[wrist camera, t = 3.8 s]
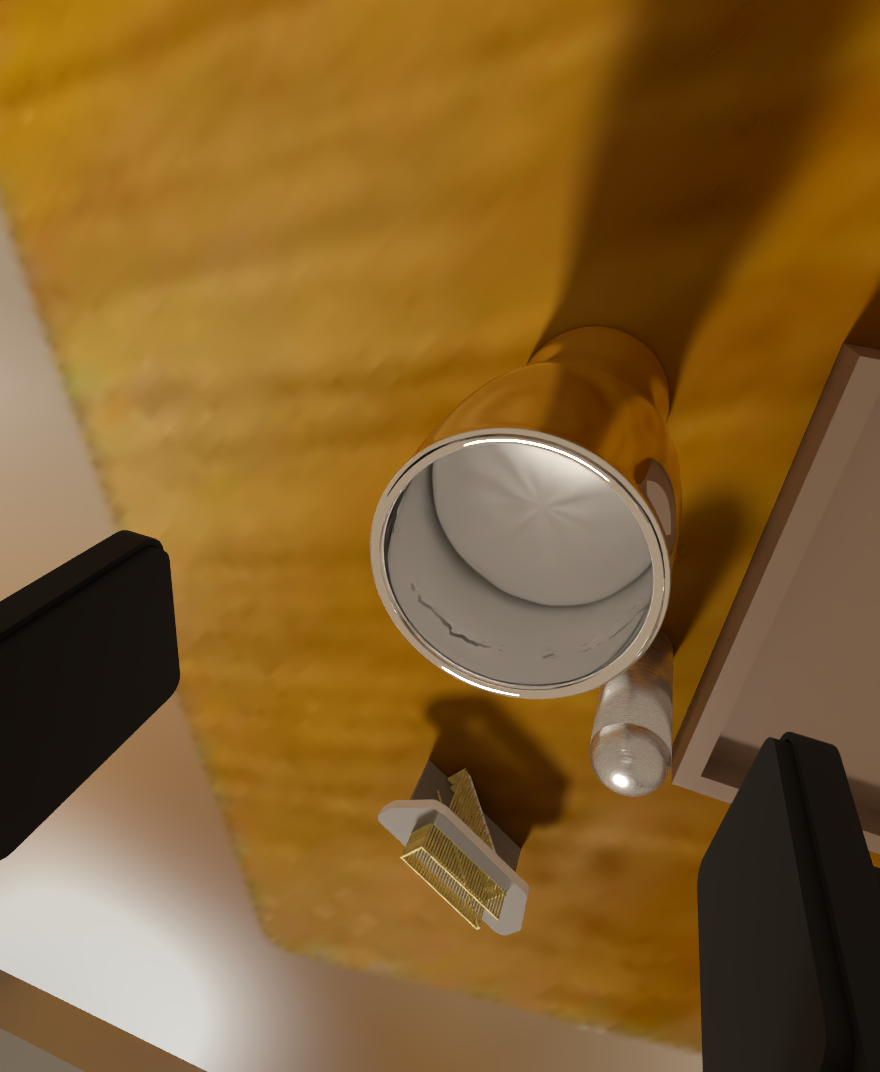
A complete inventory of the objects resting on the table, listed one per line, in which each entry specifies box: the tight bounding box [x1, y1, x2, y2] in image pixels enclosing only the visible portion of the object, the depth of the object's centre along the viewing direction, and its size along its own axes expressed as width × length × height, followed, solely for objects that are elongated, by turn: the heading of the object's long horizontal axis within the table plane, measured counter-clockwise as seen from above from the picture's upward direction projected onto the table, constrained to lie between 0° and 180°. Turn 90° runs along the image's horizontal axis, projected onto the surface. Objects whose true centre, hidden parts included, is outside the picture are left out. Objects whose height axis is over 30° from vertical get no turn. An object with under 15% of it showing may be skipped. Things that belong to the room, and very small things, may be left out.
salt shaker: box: [590, 630, 673, 797], centre depth 27 cm, size 3×3×8 cm
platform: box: [378, 760, 529, 935], centre depth 36 cm, size 12×18×7 cm, turn 47°
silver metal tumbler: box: [370, 326, 682, 699], centre depth 20 cm, size 7×7×15 cm
